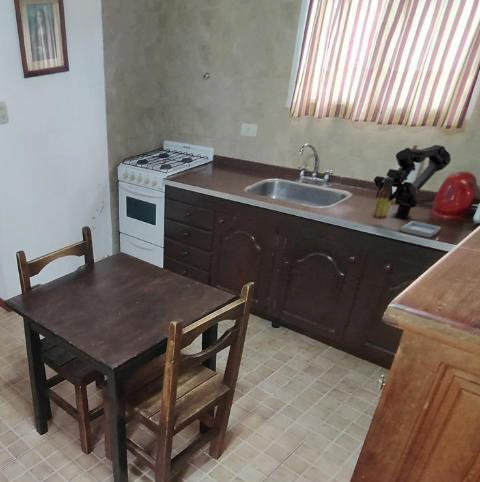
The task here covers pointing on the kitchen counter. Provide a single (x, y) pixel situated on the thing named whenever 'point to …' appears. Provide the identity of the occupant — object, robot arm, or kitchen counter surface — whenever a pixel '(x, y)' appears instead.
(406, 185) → the robot arm
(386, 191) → the sauce bottle
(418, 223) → the grey shallow tray
